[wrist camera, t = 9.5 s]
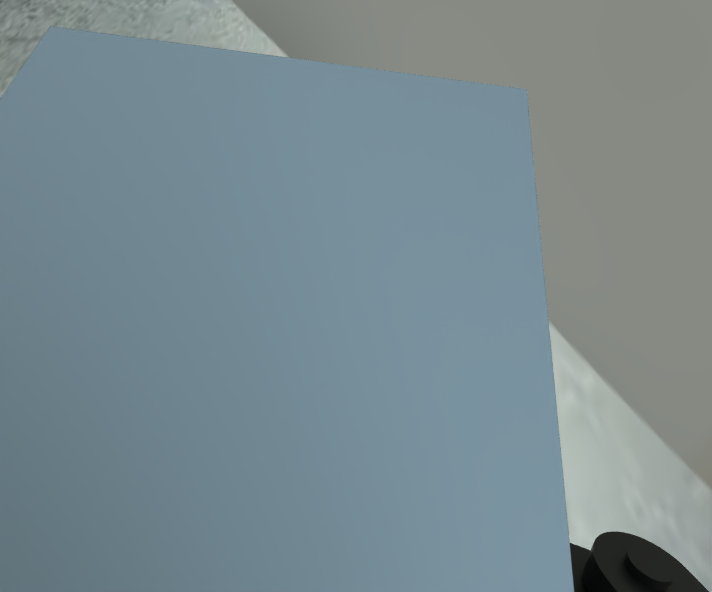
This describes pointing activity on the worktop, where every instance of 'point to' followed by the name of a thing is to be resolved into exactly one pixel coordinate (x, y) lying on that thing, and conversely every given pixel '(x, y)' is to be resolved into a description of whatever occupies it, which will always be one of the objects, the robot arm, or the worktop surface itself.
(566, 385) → the worktop surface
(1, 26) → the worktop surface
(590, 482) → the worktop surface
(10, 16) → the worktop surface
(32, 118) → the slate blue box
